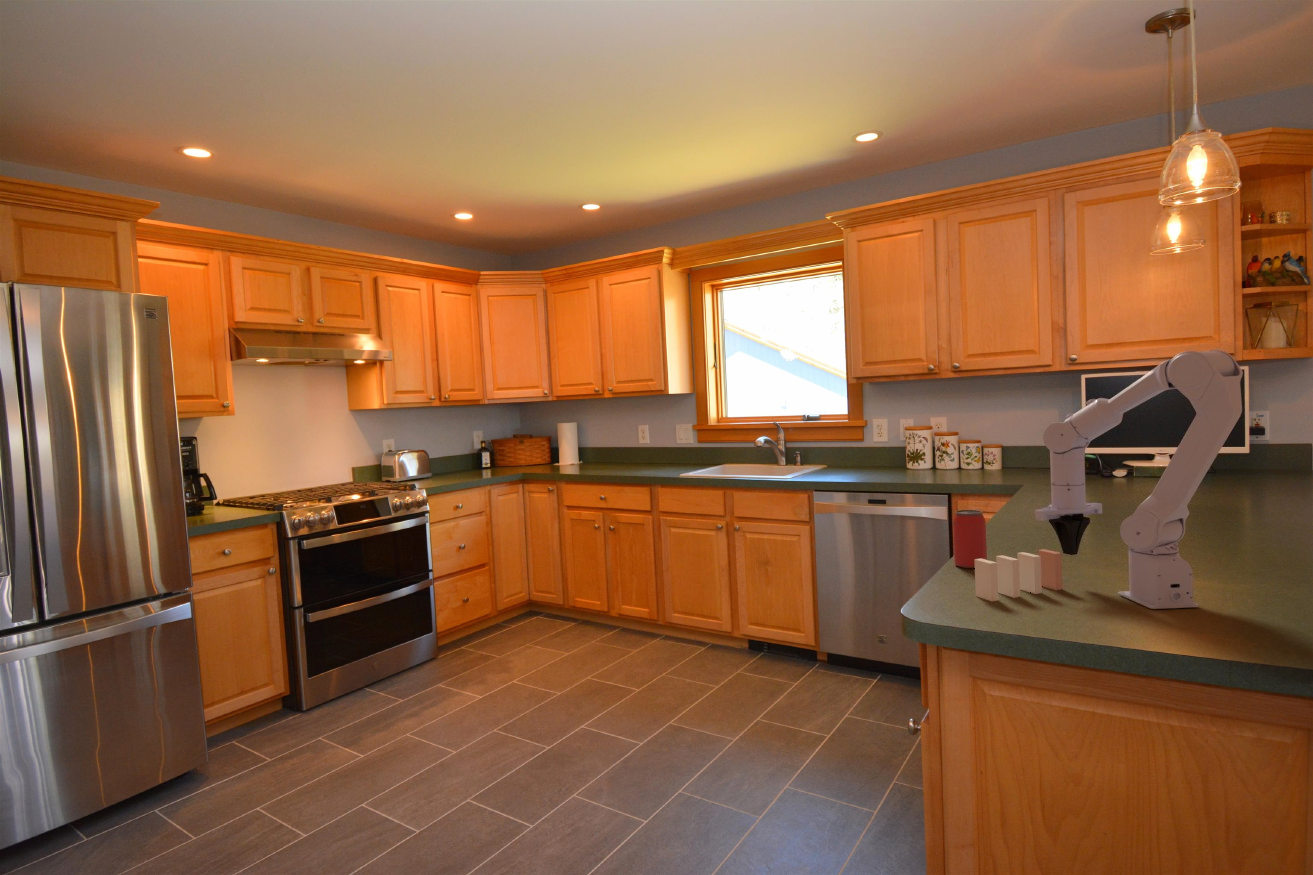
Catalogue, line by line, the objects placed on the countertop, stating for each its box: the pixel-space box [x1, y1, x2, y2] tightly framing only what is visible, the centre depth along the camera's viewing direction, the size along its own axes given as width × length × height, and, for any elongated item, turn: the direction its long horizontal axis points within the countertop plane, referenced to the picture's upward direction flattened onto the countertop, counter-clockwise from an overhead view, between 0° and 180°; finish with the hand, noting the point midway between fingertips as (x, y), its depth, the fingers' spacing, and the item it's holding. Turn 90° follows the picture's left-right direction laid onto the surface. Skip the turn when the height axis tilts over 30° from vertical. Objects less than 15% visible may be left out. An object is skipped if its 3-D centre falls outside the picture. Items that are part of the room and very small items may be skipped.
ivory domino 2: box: [995, 555, 1021, 599], centre depth 132 cm, size 2×4×7 cm, turn 17°
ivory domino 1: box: [974, 558, 999, 602], centre depth 130 cm, size 2×4×7 cm, turn 17°
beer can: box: [952, 509, 988, 570], centre depth 154 cm, size 7×7×12 cm
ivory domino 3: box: [1017, 551, 1043, 595], centre depth 133 cm, size 2×4×7 cm, turn 17°
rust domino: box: [1037, 548, 1063, 591], centre depth 135 cm, size 2×4×7 cm, turn 17°
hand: (1070, 553), depth 136 cm, fingers closed
